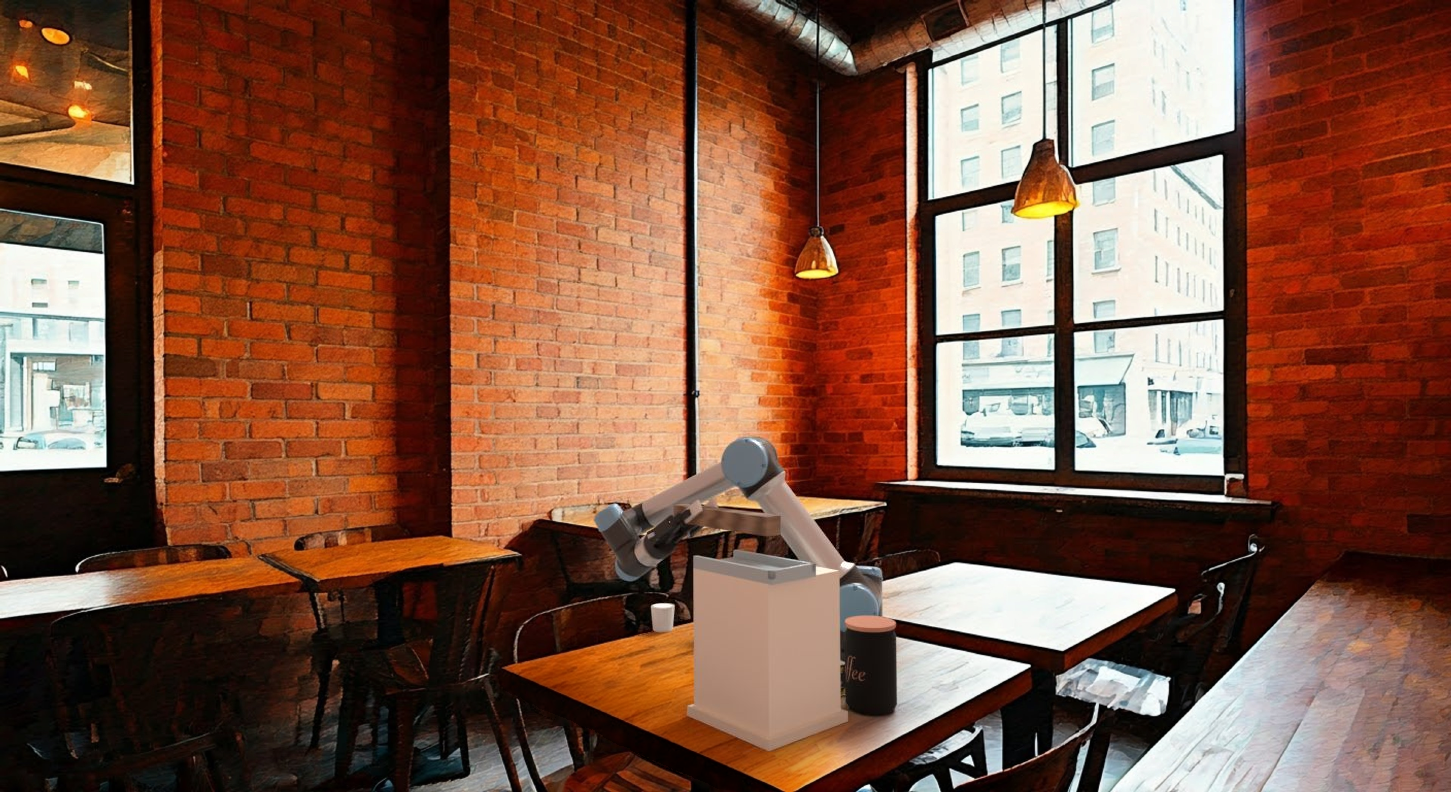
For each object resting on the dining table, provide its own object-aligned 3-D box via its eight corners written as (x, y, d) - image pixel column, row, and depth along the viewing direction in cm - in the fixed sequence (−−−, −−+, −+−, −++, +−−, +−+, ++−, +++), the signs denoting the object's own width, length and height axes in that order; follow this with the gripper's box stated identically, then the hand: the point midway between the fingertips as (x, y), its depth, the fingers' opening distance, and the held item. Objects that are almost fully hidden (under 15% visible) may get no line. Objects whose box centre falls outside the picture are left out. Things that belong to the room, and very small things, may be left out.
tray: (693, 568, 166) (693, 556, 166) (736, 561, 174) (736, 549, 174) (771, 585, 149) (771, 571, 149) (816, 576, 156) (815, 563, 157)
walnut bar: (673, 521, 191) (673, 504, 191) (687, 520, 194) (687, 503, 194) (766, 536, 167) (766, 517, 167) (780, 534, 169) (780, 515, 170)
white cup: (671, 633, 229) (671, 608, 229) (647, 632, 231) (647, 607, 231) (677, 627, 236) (677, 603, 236) (654, 626, 237) (654, 602, 238)
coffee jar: (840, 700, 174) (839, 615, 174) (888, 698, 175) (887, 614, 175) (852, 718, 163) (851, 628, 164) (903, 716, 164) (902, 627, 165)
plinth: (687, 715, 165) (686, 568, 166) (764, 691, 180) (763, 555, 180) (768, 751, 147) (767, 585, 148) (847, 721, 161) (846, 570, 162)
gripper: (688, 556, 204) (741, 516, 189) (631, 564, 193) (683, 523, 178) (679, 528, 207) (730, 487, 192) (622, 535, 196) (673, 492, 181)
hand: (707, 504), depth 185 cm, fingers closed on walnut bar, 4 cm apart
